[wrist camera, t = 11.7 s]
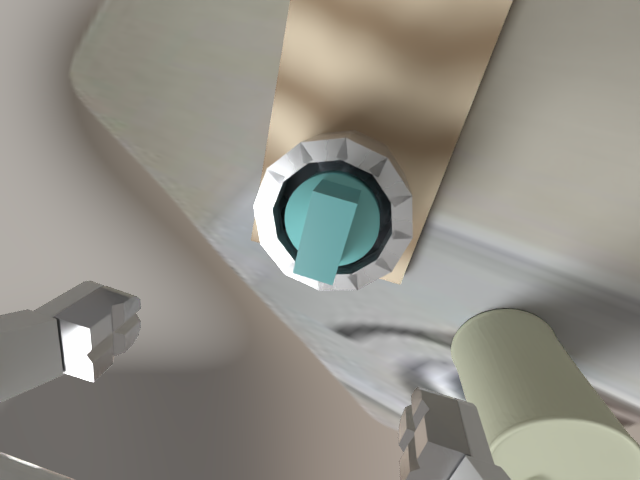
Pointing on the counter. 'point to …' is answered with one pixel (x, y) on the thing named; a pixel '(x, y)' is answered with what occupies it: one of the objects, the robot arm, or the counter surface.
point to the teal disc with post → (331, 223)
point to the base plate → (384, 82)
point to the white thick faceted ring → (351, 157)
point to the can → (538, 403)
